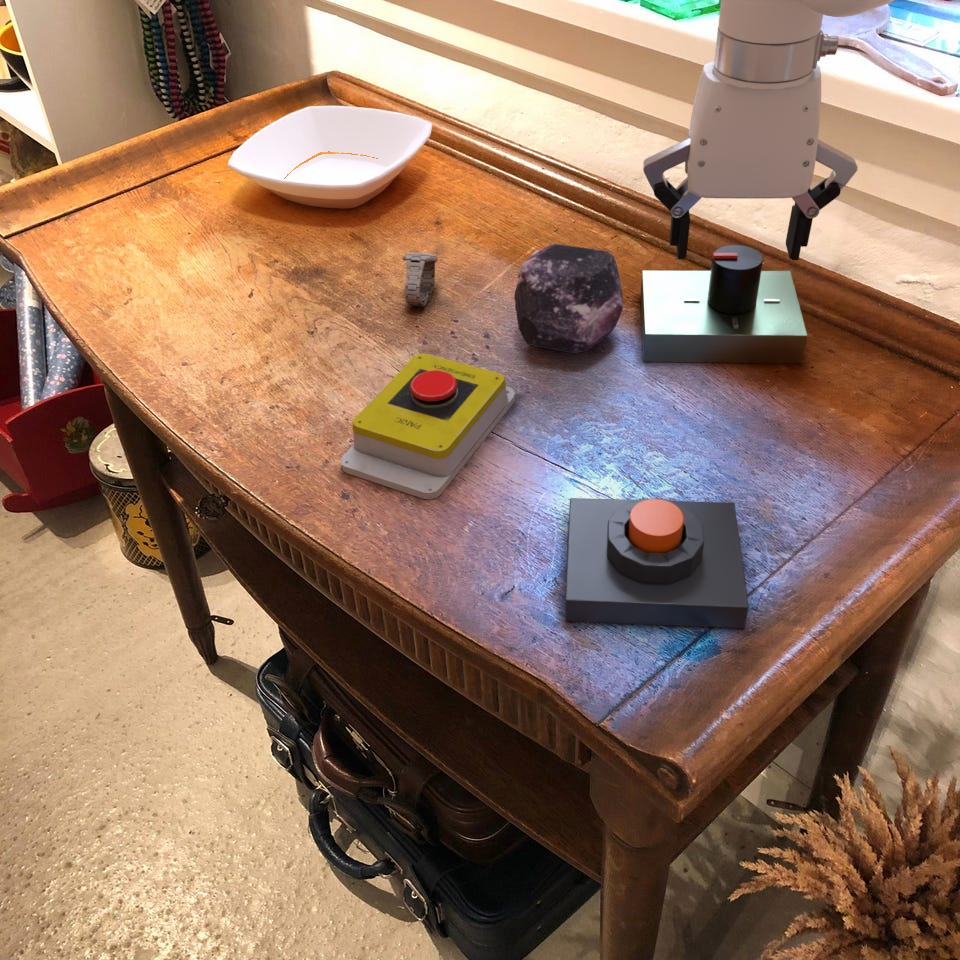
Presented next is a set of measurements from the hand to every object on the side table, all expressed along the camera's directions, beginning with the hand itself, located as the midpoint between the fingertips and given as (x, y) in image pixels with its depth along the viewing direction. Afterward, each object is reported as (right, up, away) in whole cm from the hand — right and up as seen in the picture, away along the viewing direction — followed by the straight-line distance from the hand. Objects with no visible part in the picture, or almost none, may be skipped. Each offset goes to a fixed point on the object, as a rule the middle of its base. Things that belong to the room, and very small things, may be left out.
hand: (735, 252), depth 86 cm
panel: (0, -6, +5) cm, 8 cm away
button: (-11, -24, -19) cm, 32 cm away
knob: (0, -4, +3) cm, 5 cm away
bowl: (-40, +16, +33) cm, 54 cm away
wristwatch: (-29, -2, +12) cm, 31 cm away
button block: (-10, -27, -17) cm, 33 cm away
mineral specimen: (-14, -7, +5) cm, 17 cm away
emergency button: (-27, -16, -4) cm, 32 cm away
